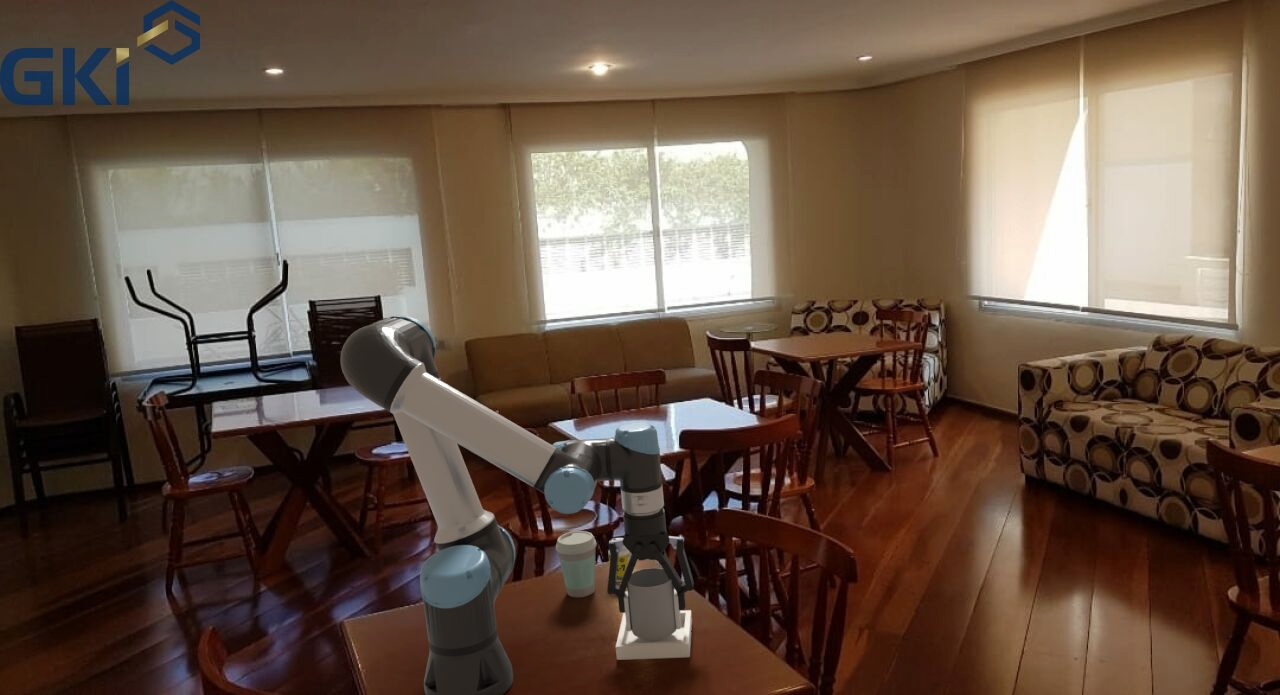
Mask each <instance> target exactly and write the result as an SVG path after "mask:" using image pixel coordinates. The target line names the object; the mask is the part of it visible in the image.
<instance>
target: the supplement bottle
mask: <svg viewBox="0 0 1280 695" xmlns="http://www.w3.org/2000/svg"><path fill="white" fill-rule="evenodd" d="M623 538H624V537H616V538H614V539H616V540H618V539H623ZM609 543H610V540H609V542H608V544H609ZM607 552H608V553H607V554H608V556H607V557H608V565H609V566H608V567H609V568H610V559H611V554H610V551H609V550H608V551H607ZM630 557H631V553H630V552H629V550H628V549H627V548H626V547H625V546H624V545H623V546H622V549H621V551H620V552H619V555H618V565H617V574H616V582H617V583H621V581H622V578H623V575H624V573H625V570H626V568H627V565H628V562H629V560H630Z"/></svg>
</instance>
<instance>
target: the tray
mask: <svg viewBox="0 0 1280 695" xmlns="http://www.w3.org/2000/svg"><path fill="white" fill-rule="evenodd" d="M680 615H681V629H676V631H675V632H674V633H673V634H671V635H670V636H667V637H664V638H661V639H653V640H648V639H641V638H639V637H637V636H635V635H634V634H633V632H632V630H631V631H627V626H626V616H625V612H624V613H622V618H621V622H620V625H619V631H618V635H617V638H616V640H617V641H616V643H615V652H616V660H617V661H619V660H620V661H623V660H649V659H650V660H651V659H652V660H653V659H676V658H677V659H679V658H690V657H691V645H692V632H691V631H692V629H693V617H692V610H691V609H688V610H687V609H684V610H680Z"/></svg>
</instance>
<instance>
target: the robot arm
mask: <svg viewBox="0 0 1280 695" xmlns="http://www.w3.org/2000/svg"><path fill="white" fill-rule="evenodd" d="M436 353H437V344H436V339H435V337H434V335H433V332H432V331H431V330H430V328H428V326H427V325H425V323H423V322H422V321H421V320H419V319H417V318H414V317H411V316H407V315H394V316H393V315H392V316H389V317H384V318H383V319H380V320H378V321H376V322H373V323H371V324H369V325H366V326H365V325H364V326H363V327H361V328H358V329H357V330H355V331H354V332H352V333H351V334H350V336H348V337H347V339H346V341H345V342H344V344H343V346H342V349H341V352H340V359H339V360H340V367H341V371H342V374H343V375H344V378H345V380H346V381H347V383H348V384H349V385H350V386H351V387H352V388H353V389H354V390H355V391H356V392H358V393H359V394H360V395H362V396H363V397H365V398H366V399H367V400H368V401H370V402H372V403H373V404H376V405H377V406H378V407H381V409H384V410H386V411H387V412H389V413H391V414H392V415H393V417H394V421H395V422H396V425H397V427H398V429H399V432H400V435H401V437H402V439H403V440H402V441H403V442H404V445H405V447H406V450H407V452H408V454H409V456H410V459H411V462H412V464H413V467H414V470H415V472H416V474H417V477H418V479H419V482H420V484H421V487H422V490H423V493H424V494H425V496H426V500H427V502H428V504H429V507H430V510H431V511H432V514H433V517H434V519H435V522H436V525H437V527H438V528H437V531H436V534H435V535H434V536H435V537H434V543H435V545H436V548H437V551H438V552H435V553H433V554H431V555H430V556H429V557H428V558H427V559H426V560H425V561H424V562H423V563H422V566H421V568H420V572H419V578H420V579H419V580H420V581H419V584H420V586H419V589H420V590H419V591H420V594H421V597H422V598H421V599H422V606H423V613H424V620H425V626H426V633H427V639H428V646H429V654H428V659H427V664H426V668H425V673H424V674H425V675H424V679H423V689H424V695H504V694H505V693H506V692H508V690H509V689H510V688H511V686H512V685H513V682H514V674H513V672H514V671H513V666H512V663H511V660H510V658H509V657H508V654H507V652H506V650H505V649H504V646H503V644H502V642H501V641H500V638H499V634H498V626H497V620H496V619H497V618H496V610H495V601H496V600H497V598H498V596H499V594H500V593H501V591H502V590H503V587H504V586H505V583H506V582H507V581H508V579H509V578H510V577H511V573H512V571H513V568H514V566H515V565H514V564H515V560H516V547H515V543H514V540H513V538H512V536H511V534H510V533H509V532H508V531H507V530H506V529H505V528H504V527H502V526H500V525H499V524H498V522H497V519H496V517H495V514H494V513H493V512H490V511H488V510H486V509H484V508H483V506H482V504H481V501H480V499H479V495H478V493H477V491H476V488H475V485H474V484H473V480H472V478H471V475H470V473H469V471H468V468H467V466H466V463H465V461H464V458H463V455H462V453H461V450H460V446H461V447H463V448H465V449H467V450H468V451H470V452H471V453H472V454H474V455H477V456H478V457H480V458H482V459H484V460H485V461H487V462H489V463H490V464H492V465H494V466H496V467H497V468H499V469H501V470H502V471H504V472H506V473H509V474H510V475H511V476H513V477H515V478H517V479H518V480H520V481H522V482H524V483H526V484H527V485H529V486H530V487H531V488H532V487H533V488H534V489H536V490H537V491H539V492H540V493H542V494H544V497H545V501H546V502H547V504H548V506H550V508H551V509H553V510H554V511H555V512H557V513H560V514H564V515H570V514H571V515H573V514H576V513H578V512H580V511H581V510H582V509H584V508H585V506H587V505H588V503H589V501H591V500H592V497H593V496H594V493H595V490H596V486H597V484H598V482H607V481H608V482H609V481H617V480H618V481H619V485H620V487H619V488H620V498H621V507H622V510H623V513H622V516H623V517H622V518H623V528H624V529H623V530H624V536H623V537H622V538H623V539H618V540H616V539H615V538H613V537H612V538H610V540H609V541H610V543H609V542H608V551H610V554H611V559H610V567H609V570H608V580H607V587H606V588H607V590H606V592H607V594H608V595H615V596H616V597H617V602H618V611H619V613H621V614H623V613H625V616H626V626H627V631H631V619H630V608H629V598H628V590H627V585H628V582H629V580H630V577H631V575H632V573H633V572H634V570H635V566H636V564H637V562H638V561H639V562H641V561H646V560H649V561H655V560H656V561H657V562H658V564H659V565H660V566H661V567H662V568H661V569H664V571H665V573H666V575H667V576H668V578H669V580H670V579H671V582H672V585H673V586H674V595H673V597H674V608H675V620H676V629H681V615H680V611H685V610H686V594H685V593H687V592H688V591H689V592H692V591H693V590H694V578H693V574H692V572H691V571H692V570H691V568H690V564H689V561H688V557H687V555H686V551H685V546H684V545H685V544H684V543H685V536H684V535H683V534H679V535H678V536H672V535H670V534H669V533H668V531H667V523H666V513H665V509H664V506H665V502H664V499H665V498H664V491H663V490H664V489H663V480H662V478H663V477H662V467H661V453H660V452H661V451H660V446H659V437H658V431H657V429H656V427H655V426H654V425H652V423H651V424H650V423H646V422H632V423H626V424H622V425H620V426H618V427H617V428H616V429H615V432H614V433H615V434H614V437H610V438H609V437H608V438H593V439H589V438H588V439H568V440H563V441H556V442H553V444H551V443H550V442H547V441H545V440H544V439H542V438H541V437H539V436H538V435H535V434H534V433H532V432H530V431H528V430H527V429H525V428H523V427H522V426H520V425H518V424H517V423H514V422H513V421H511V420H509V419H508V418H506V417H505V416H503V415H502V414H500V413H498V412H495V411H494V410H492V409H490V408H489V407H487V406H485V405H484V404H482V403H480V402H478V401H477V400H475V399H473V398H472V397H470V396H468V395H467V394H465V393H463V392H461V391H459V390H458V389H456V388H454V387H452V386H451V385H449V384H448V383H446V382H444V381H442V380H441V375H440V373H439V369H438V368H437V365H436V362H435V358H436ZM669 544H670V545H671V546H672V549H673V550H676V557H677V560H678V562H679V563H678V564H679V567H680V570H681V573H682V577H683V580H684V582H683V581H682V579H681V577H680V576H679V574H678V572H677V571H676V569H675V567H674V566H673V564H672V562H671V560H670V558H669V557H668V555H667V552H666V548H667V547H668V545H669ZM623 545H624V546H625V547H626V548H627V549H628V550H629V552H630V554H631V557H630V560H629V562H628V565H627V568H626V570H625V573H624V575H623V578H622V581H621V582H619V585H618V584H616V574H617V565H618V555H619V552H620V551H621V549H622V546H623Z"/></svg>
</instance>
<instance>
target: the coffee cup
mask: <svg viewBox="0 0 1280 695" xmlns="http://www.w3.org/2000/svg"><path fill="white" fill-rule="evenodd" d="M597 544H598V543H597V541H596V539H595V537H594V535H593V534H592V532H589V531H585V530H576V531H575V530H574V531H569V532H566V533H564V534H562V535H560V536H558V538H557V541H556V544H555V551H556V552H557V554H558V559H559V564H560V567H561V573H562V577H563V579H564V581H563V582H564V585H565V589H566V592H567V593H566V594H567V595H568V596H570V598H571V597H572V598H585V597H587V596H590V595H592V594H593V593H594V592H595V589H596V587H595V586H596V547H597Z"/></svg>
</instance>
